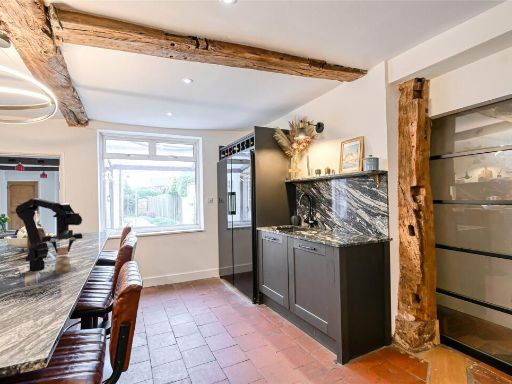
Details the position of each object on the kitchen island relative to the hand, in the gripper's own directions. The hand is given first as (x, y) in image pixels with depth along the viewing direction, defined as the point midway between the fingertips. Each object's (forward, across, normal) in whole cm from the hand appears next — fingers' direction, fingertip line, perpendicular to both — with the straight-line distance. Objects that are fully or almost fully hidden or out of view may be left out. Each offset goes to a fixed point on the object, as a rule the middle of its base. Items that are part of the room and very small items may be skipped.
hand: (62, 252), depth 161 cm
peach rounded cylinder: (+1, 0, 0) cm, 1 cm away
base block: (+10, 0, 0) cm, 10 cm away
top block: (+6, 0, 0) cm, 6 cm away
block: (+11, -12, +63) cm, 65 cm away
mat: (+11, 0, 0) cm, 11 cm away
